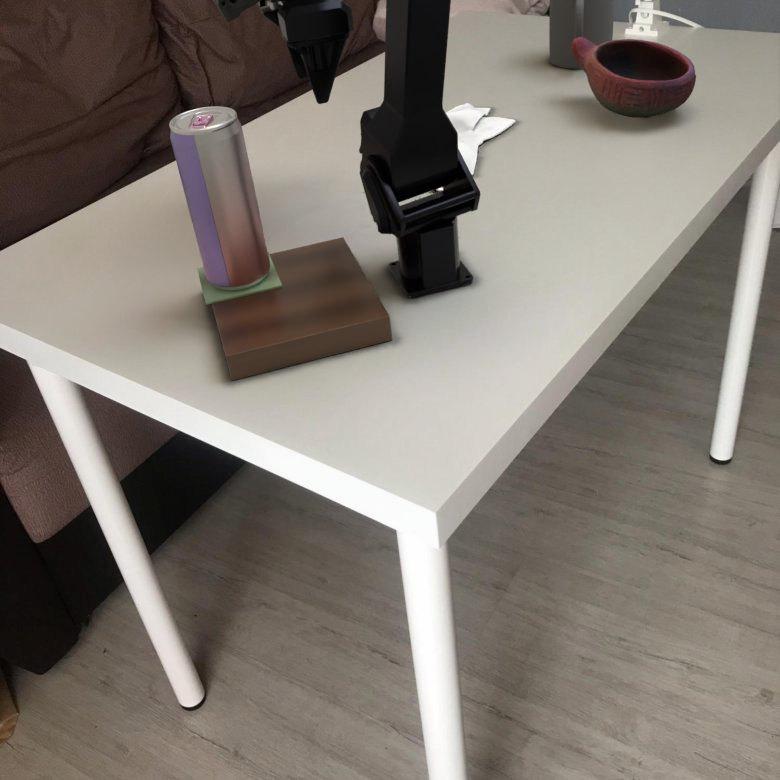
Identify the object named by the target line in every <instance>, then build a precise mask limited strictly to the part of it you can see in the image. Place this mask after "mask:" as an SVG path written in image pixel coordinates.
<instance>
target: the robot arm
mask: <svg viewBox="0 0 780 780" xmlns="http://www.w3.org/2000/svg"><path fill="white" fill-rule="evenodd" d="M451 1H452V0H385V34H384V35H385V37H384V39H385V40H384V75H383V76H384V78H383V80H384V81H383V101H382V102H381V104H380V106H376V107H373V108H370V109H367V110H364V111H363V112H362V114H361V117H360V121H359V126H360V145H359V149H358V153H359V154H361V160H360V162H359V176H360V180H361V184H362V188H363V190H364V194H365V198H366V202H367V205H368V209H369V213H370V216H372V221H373V222H374V223H375V224H376V225H377V233H379V234H381V235H393V236H395V239H396V248H397V249H396V250H397V258H398V260H394V261H391V262H389V263H388V268H389V271H390V272H391V274H392V275H393V277H394V279H395V280H396V282H397V283H398V285H399V286H400V288H401V289H402V291H403V292H404V294H405V295H406V297H408V298H415V297H418V296H422V295H426V294H430V293H431V294H432V293H435V292H439V291H443V290H447V289H451V288H456V287H459V286H464V285H467V284H471V283H473V282H474V275H473V274H472V273H471V272H470V270H469V269H468V267H466V265H465V264H464V263H463V261H462V260H461V259H460V245H459V243H460V242H459V230H458V229H459V226H458V216H459V217H460V216H461V215H464V214H467V213H469V212H474V211H477V210H478V208H479V204H480V201H481V200H480V199H481V191H480V189H479V187H478V185H477V182H476V181H475V178H474V177H473V176H472V175H471V173H470V171H469V169H468V167H467V165H466V163H465V161H464V159H463V157H462V155H461V153H460V151H459V149H458V133H457V131H456V129H455V128H454V126H453V124H452V123H451V121H450V119H449V118H448V116H447V114H446V111H445V110H444V103H443V102H444V92H445V91H444V90H445V79H446V65H447V51H448V41H449V40H448V39H449V28H450V26H449V25H450V17H451V3H452V2H451ZM213 2H214V4H215V5H216V7H217V9H218V11H219V13H220V14H221V16H222V17H223V19H224V20H225V22H227V23H230V22H232V21H234V20H237V19H238V18H239V17H241V14H242V13H243V12H246V11H247V10H248V9H250V8H251V7H254V5H257V6H258V7H259V10H260V12H261V14H262V15H263V16H264V17H266V18H267V19H268V20H270V21H271V22H272V23H273V24H275V25H276V26H277V27H278V30H279V32H280V34H281V37H282V38H281V39H282V40H283V41H284V45H285V47H286V49H287V52H288V55H289V57H290V61H291V62H292V65H293V68H294V70H295V74H296V76H297V78H298V79H300V80H301V79H307V78H308V80H309V83H310V87H311V90H312V93H313V95H314V98H315V101H316V104H318V105H322V104H327V103H328V102H329V101H330V97H331V94H332V90H333V87H334V82H335V80H336V76H337V73H338V69H339V65H340V62H341V60H342V56H343V53H344V50H345V47H346V44H347V41H348V39H349V38H350V37H351V32H353V31H355V27H354V19H353V10H352V9H353V8H352V7H350V6H349V4H347V3H345V1H344V0H213ZM442 187H443V191H437V190H436V189H439V188H442ZM433 191H437V192H434V193H431V194H428V195H427V196H423V197H421V198H418V199H414V200H412V201H409V202H406V203H404V204H401V205H400V203H402V202H404V201H407V200H410V199H413V198H416V197H418V196H421V195H425V194H427V193H430V192H433Z"/></svg>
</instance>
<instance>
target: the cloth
mask: <svg viewBox="0 0 780 780" xmlns="http://www.w3.org/2000/svg"><path fill="white" fill-rule="evenodd" d="M490 111H491V107H475V106H473V105H472V104H471V103H469V102H467V103H466V102H465V103H463V104H460V105H457V106H455V107H453V108H452V109H449V110H448V111H445V113H446V114H447V116H448V118H449V119H450V121H451V123H452V124H453V126H454V128H455V129H456V131H457V133H458V149H459V151H460V153H461V155H462V157H463V159H464V161H465V163H466V165H467V167H468V169H469V171H470V173H471V175H472V177H473V176H474V172H475V168H476V165H477V160H478V159H477V158H478V151H479V146H481V145H482V144H483V143H484V141H485V142H486V141H488V140H491V139H493V138H494V137H496V136H498V135H500V134H502V133H503V132H505V131H506V130H507V129H509V128H510V127H511V126H512V125H514V124H515V123H516V120H515V119H512V118H505V117H498V116H488V115H489V113H490ZM435 191H437V192H440V191H443V187H442V188H439V189H436V190H435Z"/></svg>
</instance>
